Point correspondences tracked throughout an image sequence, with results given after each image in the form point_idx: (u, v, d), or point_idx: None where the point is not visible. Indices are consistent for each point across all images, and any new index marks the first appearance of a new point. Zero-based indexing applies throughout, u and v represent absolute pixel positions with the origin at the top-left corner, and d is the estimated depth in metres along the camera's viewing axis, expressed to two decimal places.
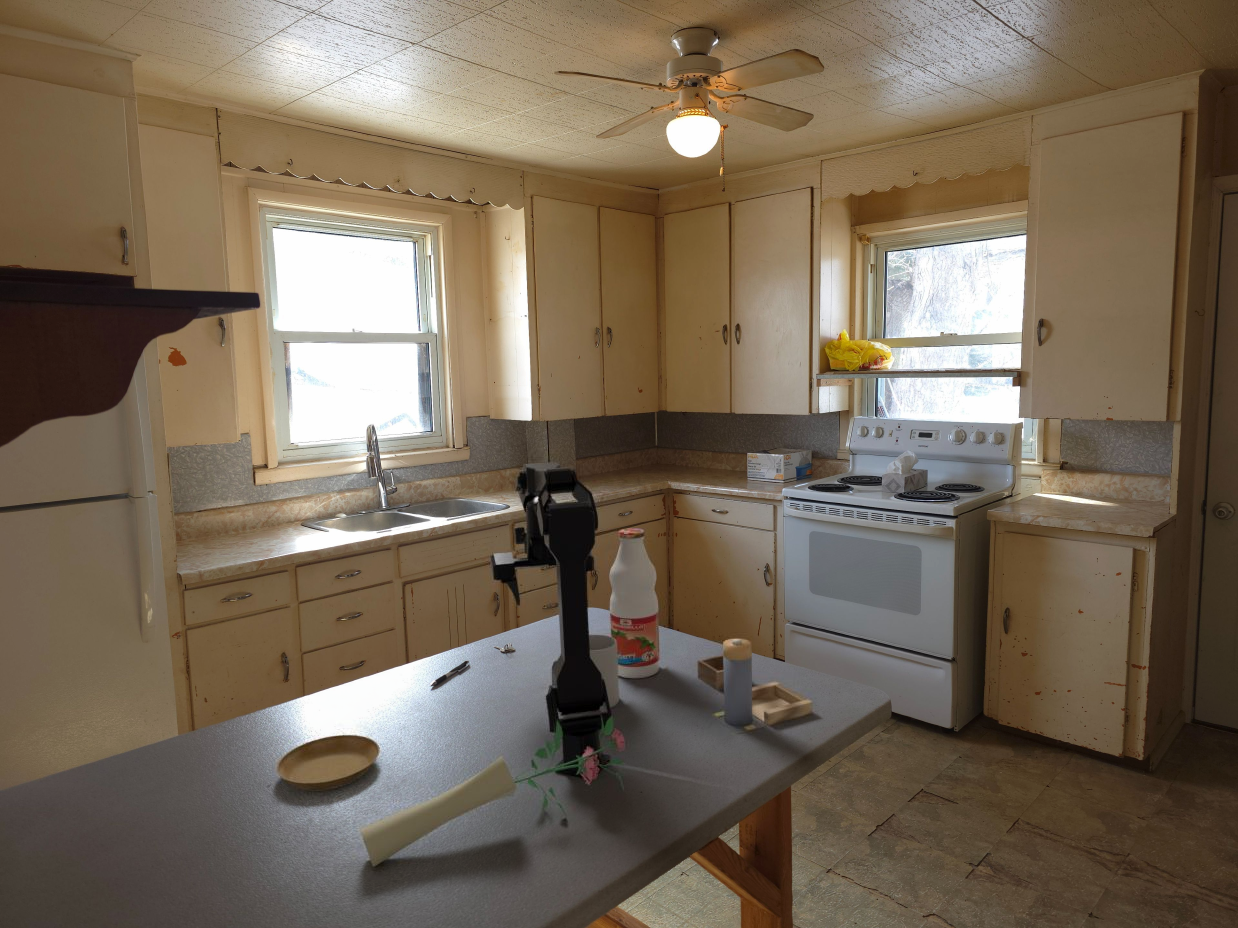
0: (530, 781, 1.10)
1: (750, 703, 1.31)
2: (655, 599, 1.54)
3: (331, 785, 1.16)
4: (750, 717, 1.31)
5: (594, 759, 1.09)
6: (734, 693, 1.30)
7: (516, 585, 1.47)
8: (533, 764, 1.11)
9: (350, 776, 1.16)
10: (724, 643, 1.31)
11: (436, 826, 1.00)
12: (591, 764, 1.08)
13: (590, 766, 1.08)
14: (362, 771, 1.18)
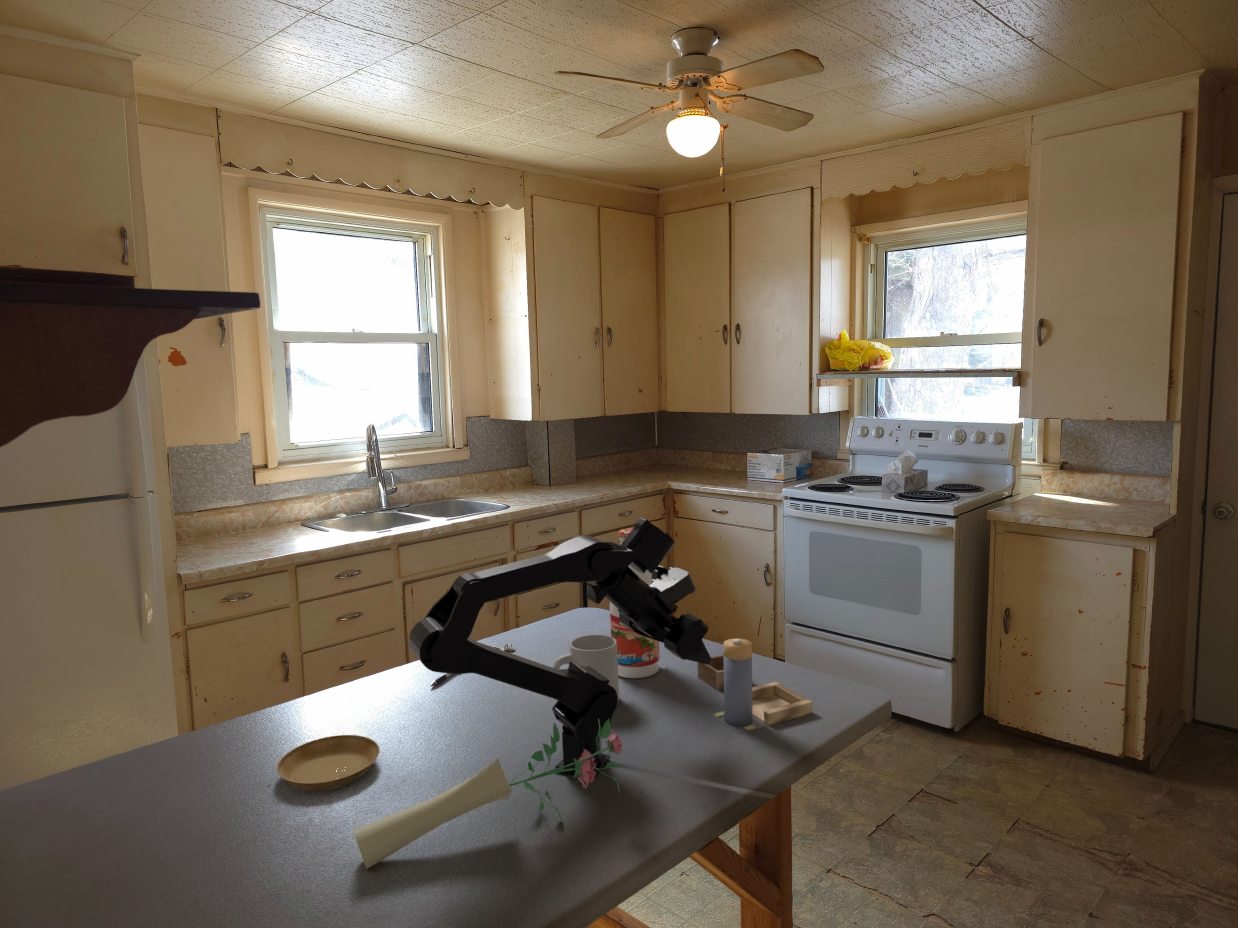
0: (526, 784, 1.09)
1: (750, 703, 1.31)
2: None
3: (331, 785, 1.16)
4: (750, 717, 1.31)
5: (591, 762, 1.08)
6: (734, 693, 1.30)
7: (645, 636, 1.30)
8: (530, 767, 1.11)
9: (350, 776, 1.16)
10: (724, 643, 1.31)
11: (430, 828, 1.00)
12: (588, 767, 1.08)
13: (587, 769, 1.08)
14: (362, 771, 1.18)
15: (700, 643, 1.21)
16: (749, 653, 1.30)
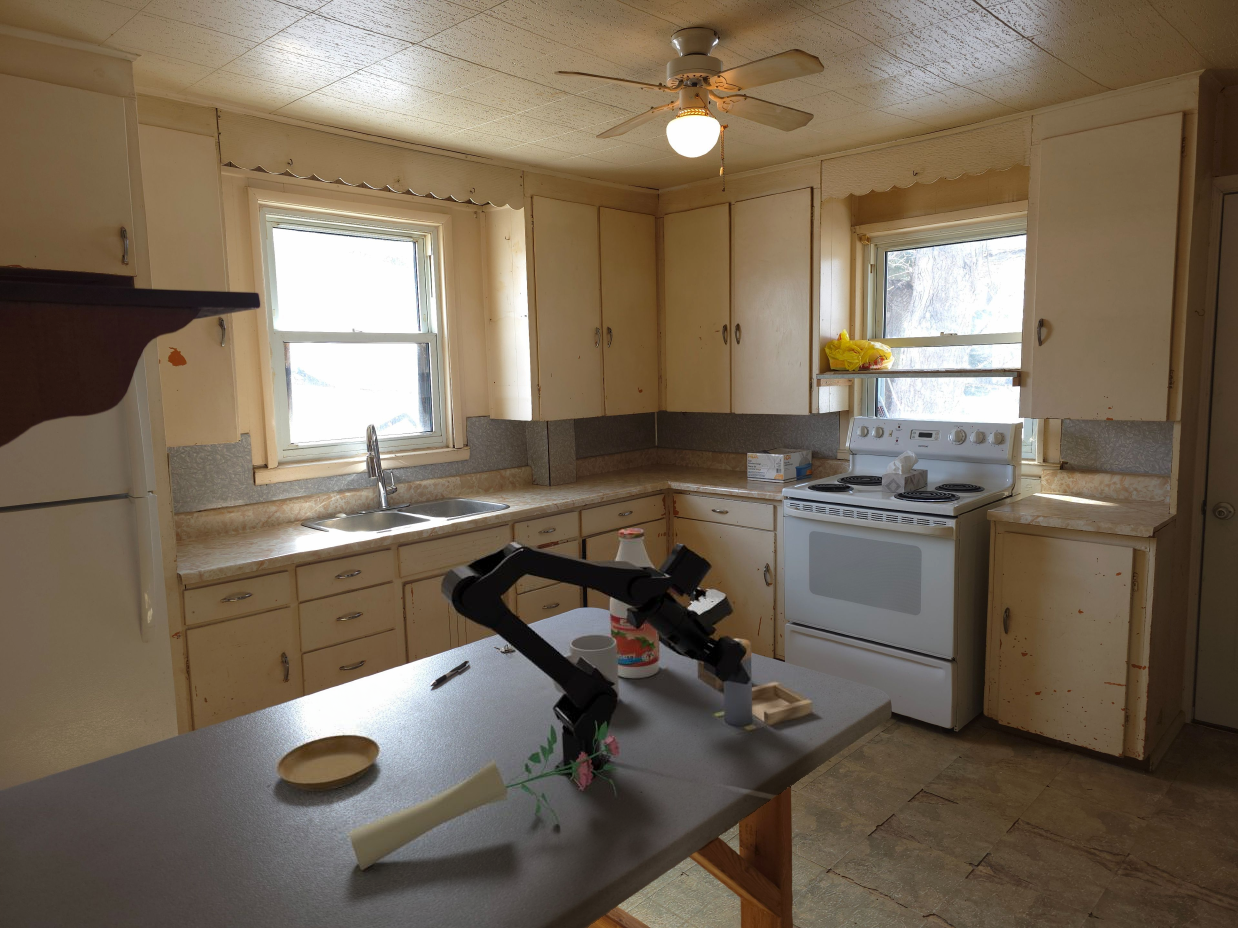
0: (523, 786, 1.09)
1: (750, 703, 1.31)
2: None
3: (331, 785, 1.16)
4: (750, 717, 1.31)
5: (588, 765, 1.08)
6: (734, 693, 1.30)
7: None
8: (527, 768, 1.10)
9: (350, 776, 1.16)
10: None
11: (426, 830, 1.00)
12: (584, 770, 1.07)
13: (583, 772, 1.07)
14: (362, 771, 1.18)
15: (739, 664, 1.24)
16: (748, 653, 1.30)
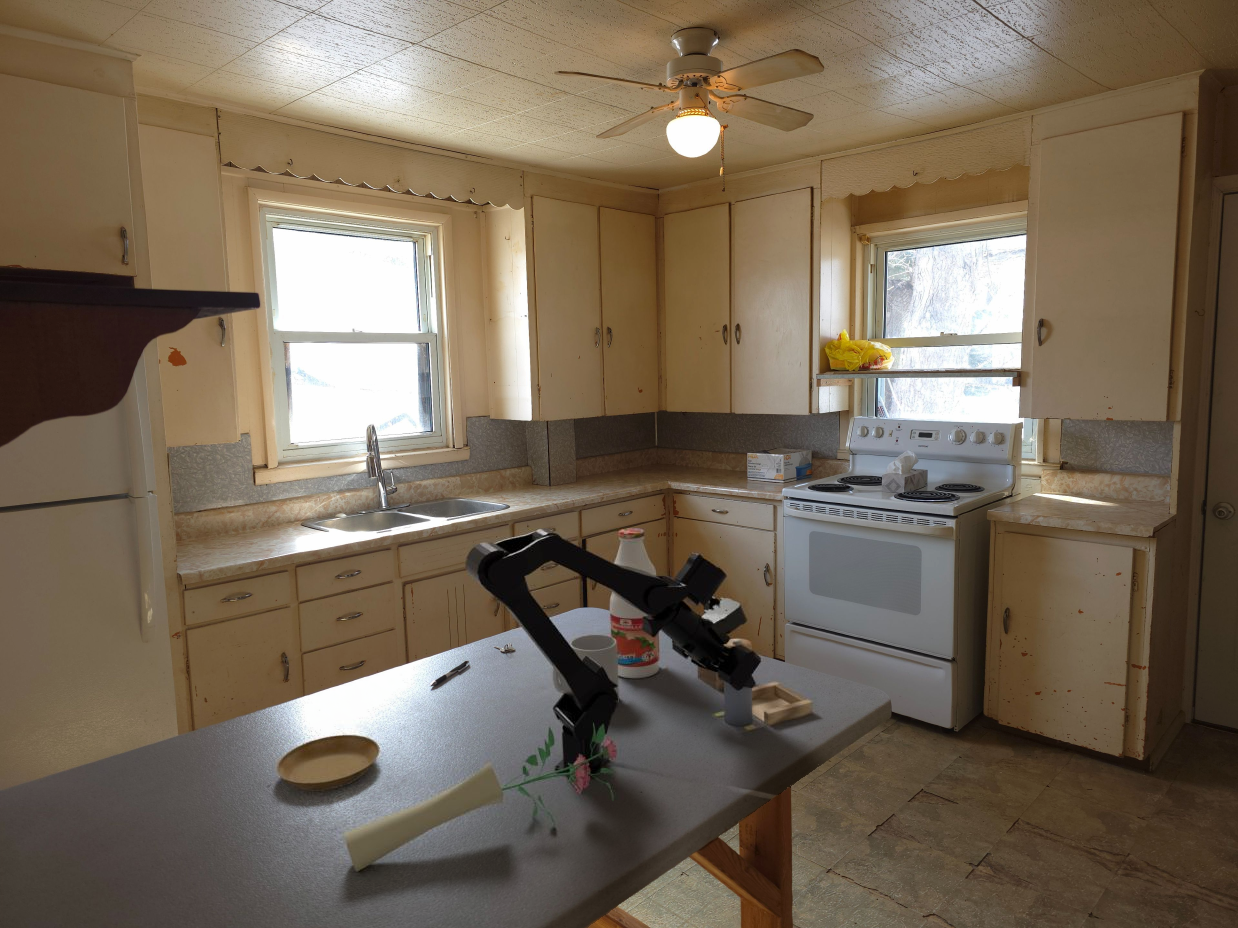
0: (520, 788, 1.08)
1: (750, 703, 1.31)
2: None
3: (331, 785, 1.16)
4: (750, 717, 1.31)
5: (585, 767, 1.07)
6: (734, 693, 1.30)
7: (704, 668, 1.33)
8: (524, 771, 1.09)
9: (350, 776, 1.16)
10: None
11: (421, 832, 0.99)
12: (582, 773, 1.06)
13: (581, 775, 1.06)
14: (362, 771, 1.18)
15: None
16: None
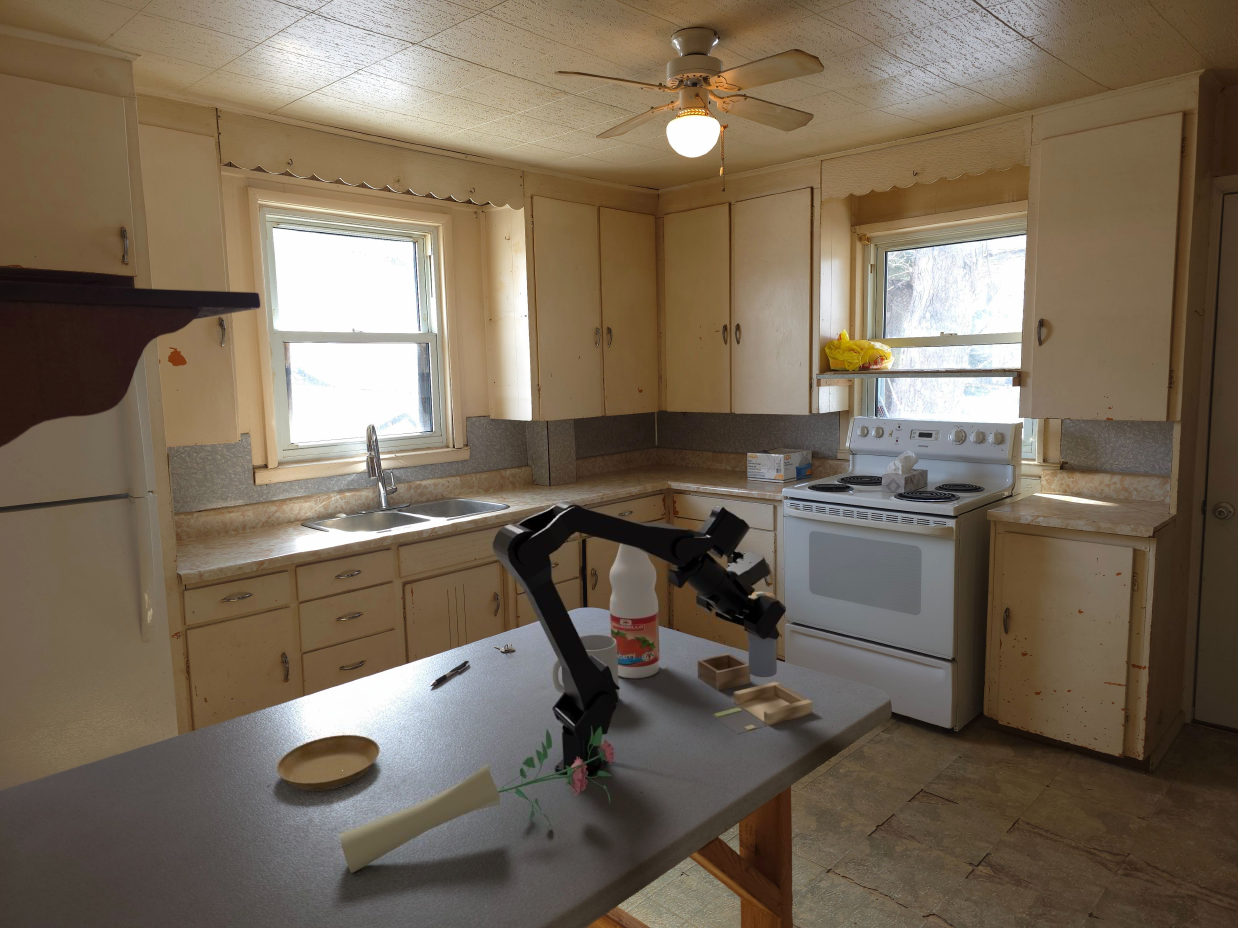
0: (518, 790, 1.08)
1: (774, 654, 1.33)
2: (655, 599, 1.54)
3: (331, 785, 1.16)
4: (774, 668, 1.33)
5: (583, 770, 1.06)
6: (758, 645, 1.32)
7: (729, 621, 1.35)
8: (522, 773, 1.09)
9: (350, 776, 1.16)
10: (748, 596, 1.33)
11: (417, 834, 0.99)
12: (579, 775, 1.06)
13: (578, 777, 1.06)
14: (362, 771, 1.18)
15: None
16: None
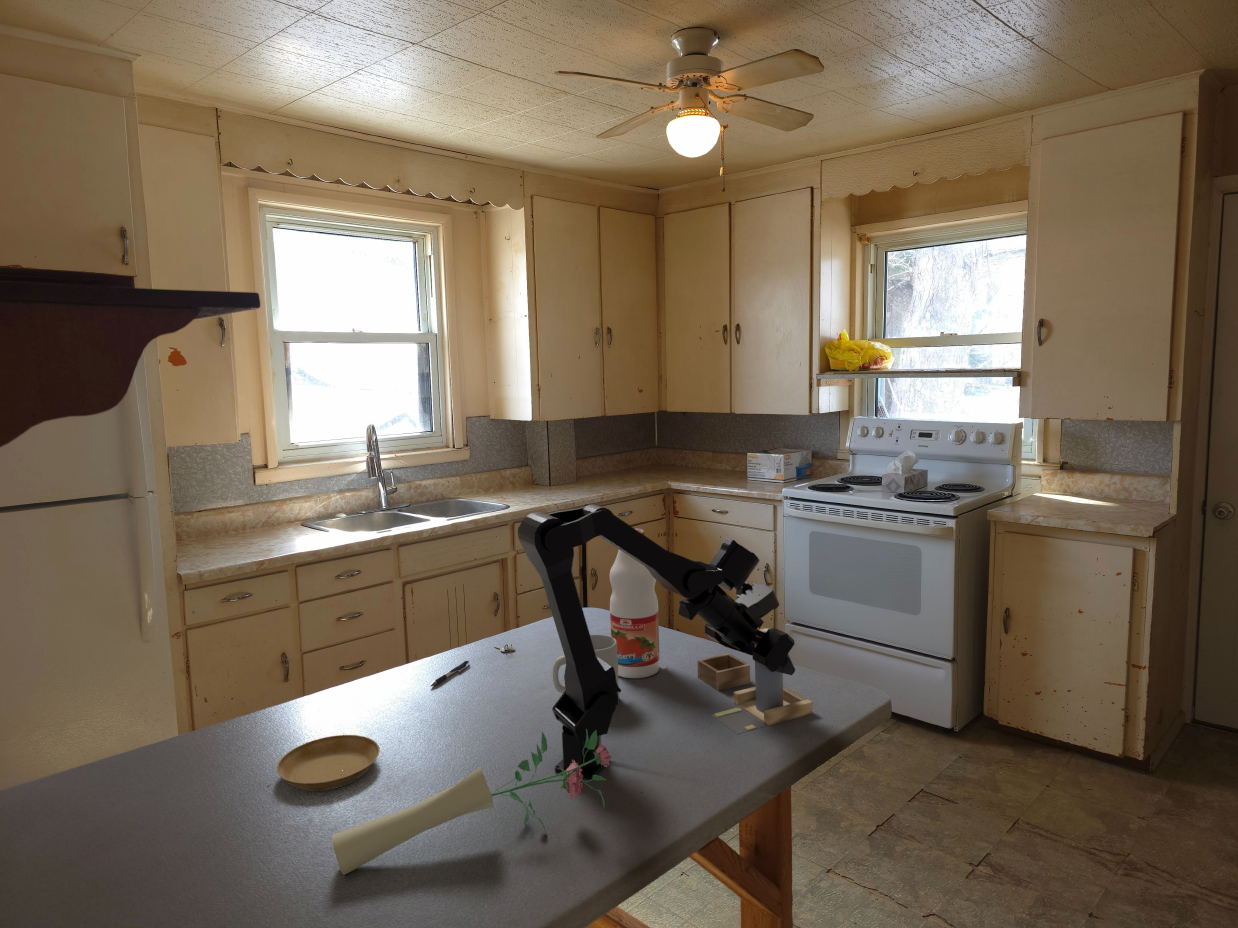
0: (512, 793, 1.07)
1: (781, 691, 1.35)
2: (655, 599, 1.54)
3: (331, 785, 1.16)
4: (781, 704, 1.35)
5: (578, 774, 1.06)
6: (766, 681, 1.34)
7: None
8: (517, 776, 1.08)
9: (350, 776, 1.16)
10: None
11: (409, 836, 0.98)
12: (574, 779, 1.05)
13: (573, 781, 1.05)
14: (362, 771, 1.18)
15: (785, 655, 1.29)
16: None
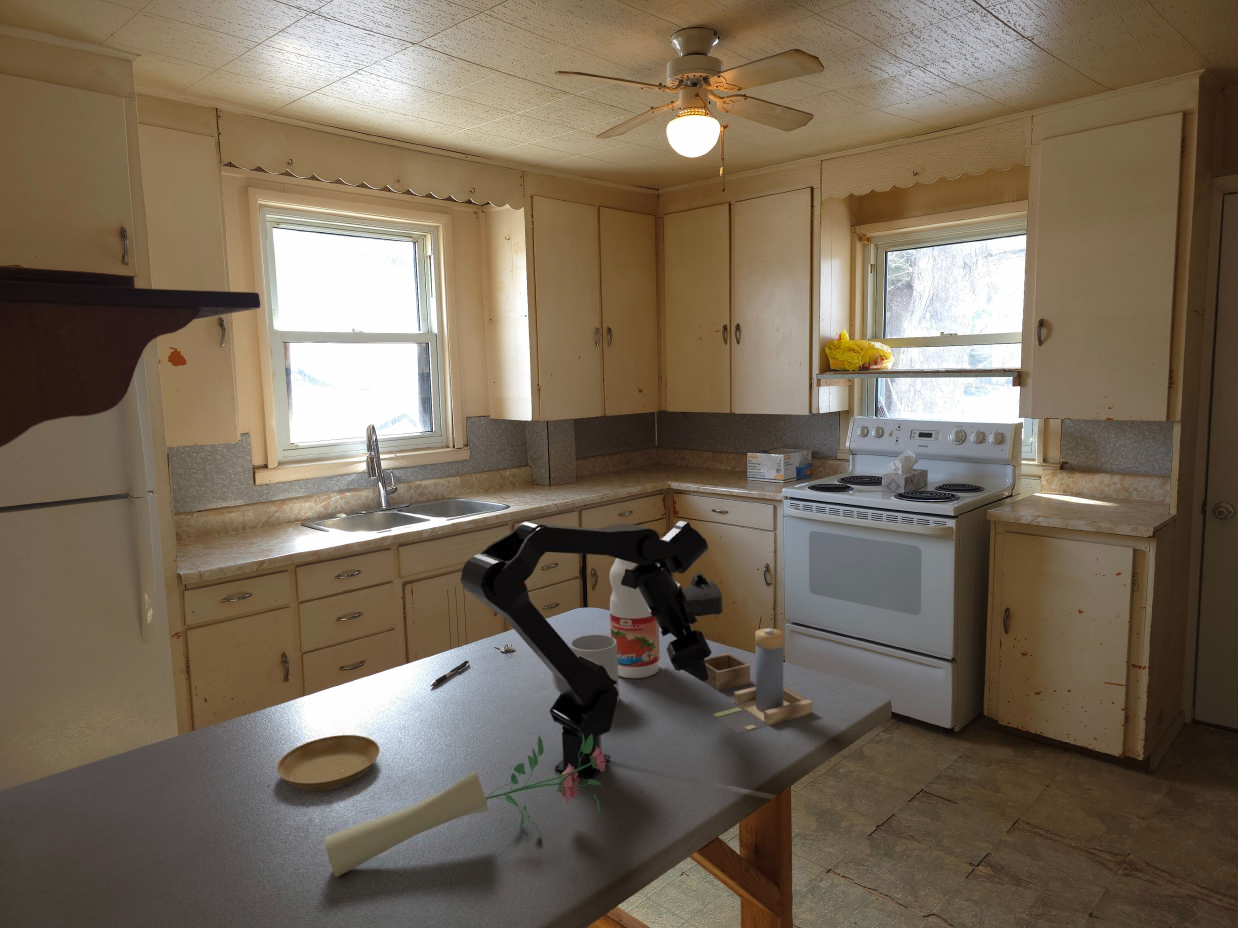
0: (508, 797, 1.06)
1: (781, 691, 1.35)
2: None
3: (331, 785, 1.16)
4: (781, 704, 1.35)
5: (573, 778, 1.05)
6: (766, 681, 1.34)
7: None
8: (513, 779, 1.07)
9: (350, 776, 1.16)
10: (756, 633, 1.35)
11: (403, 839, 0.98)
12: (569, 783, 1.04)
13: (568, 785, 1.04)
14: (362, 771, 1.18)
15: (701, 661, 1.26)
16: (781, 642, 1.34)
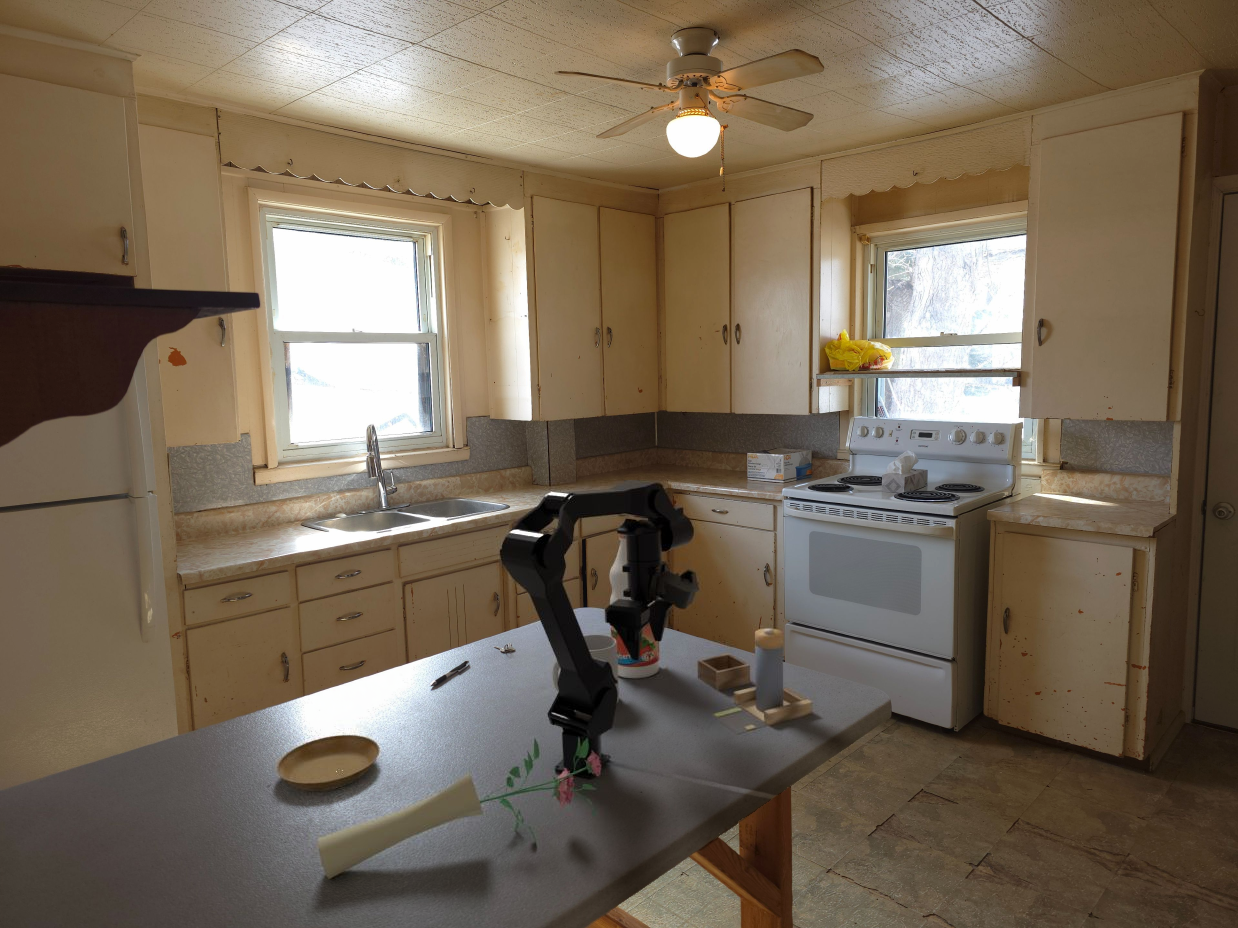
0: (503, 800, 1.05)
1: (781, 691, 1.35)
2: None
3: (331, 785, 1.16)
4: (781, 704, 1.35)
5: (569, 782, 1.04)
6: (766, 681, 1.34)
7: None
8: (509, 782, 1.07)
9: (350, 776, 1.16)
10: (756, 632, 1.35)
11: (396, 841, 0.98)
12: (564, 787, 1.03)
13: (563, 789, 1.03)
14: (362, 771, 1.18)
15: (635, 635, 1.25)
16: (780, 642, 1.34)
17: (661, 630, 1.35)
